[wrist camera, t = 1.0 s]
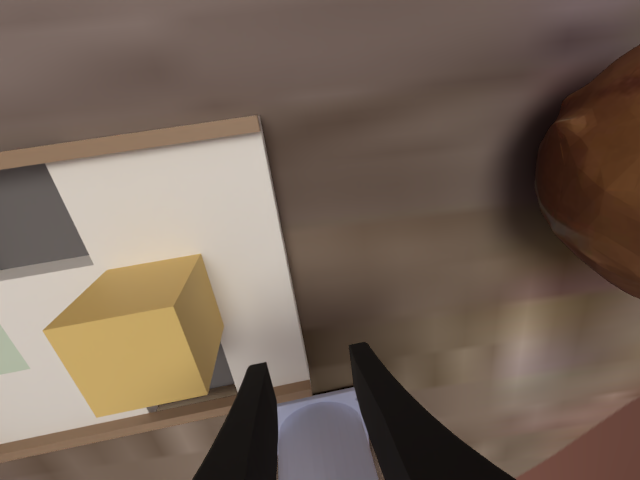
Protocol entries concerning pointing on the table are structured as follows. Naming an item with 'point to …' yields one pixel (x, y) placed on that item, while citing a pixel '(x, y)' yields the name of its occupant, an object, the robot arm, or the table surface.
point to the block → (141, 336)
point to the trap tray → (132, 249)
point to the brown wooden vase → (597, 173)
